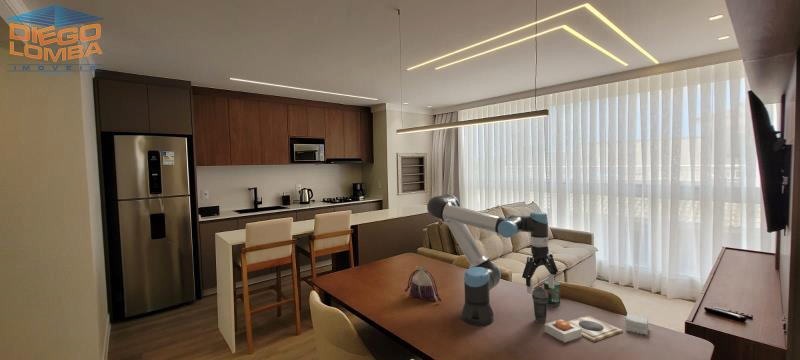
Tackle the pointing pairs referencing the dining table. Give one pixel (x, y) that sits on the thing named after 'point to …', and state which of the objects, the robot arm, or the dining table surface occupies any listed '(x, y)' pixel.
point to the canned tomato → (553, 293)
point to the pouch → (422, 285)
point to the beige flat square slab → (594, 328)
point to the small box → (637, 324)
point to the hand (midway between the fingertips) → (540, 290)
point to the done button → (563, 325)
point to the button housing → (563, 332)
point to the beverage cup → (540, 303)
